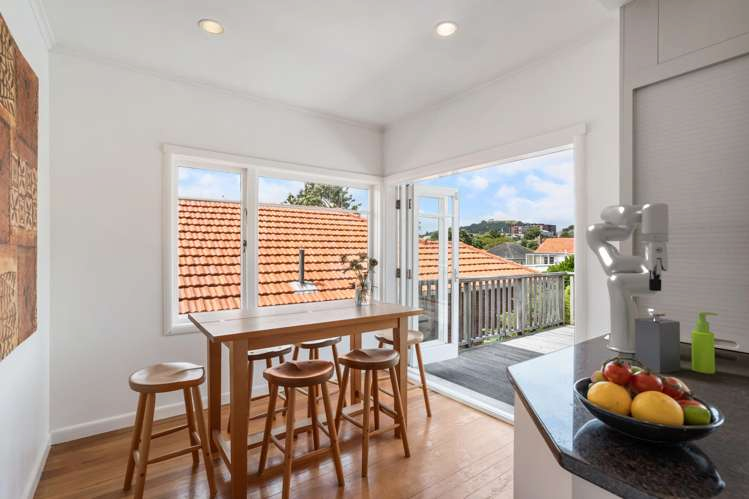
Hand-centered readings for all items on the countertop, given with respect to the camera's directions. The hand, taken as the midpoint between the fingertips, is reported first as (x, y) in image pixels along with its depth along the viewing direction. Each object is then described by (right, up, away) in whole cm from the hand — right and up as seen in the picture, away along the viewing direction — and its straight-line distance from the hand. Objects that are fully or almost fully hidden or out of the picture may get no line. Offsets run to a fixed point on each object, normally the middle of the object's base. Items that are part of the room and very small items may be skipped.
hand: (655, 290), depth 132 cm
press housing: (0, -27, -1) cm, 27 cm away
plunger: (0, -26, -1) cm, 26 cm away
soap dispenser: (+14, -27, -4) cm, 31 cm away
